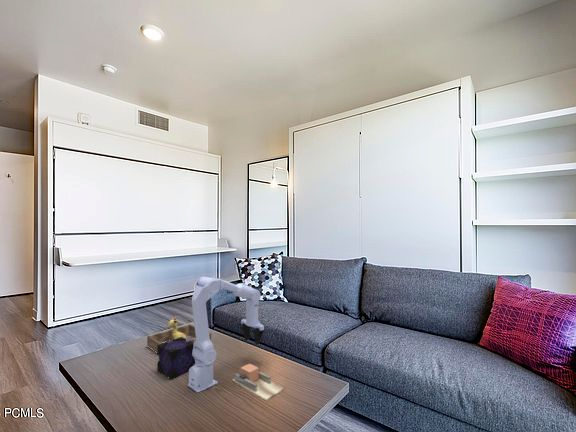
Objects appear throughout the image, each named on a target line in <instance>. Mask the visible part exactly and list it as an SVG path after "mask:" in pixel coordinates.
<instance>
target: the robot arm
mask: <svg viewBox="0 0 576 432" xmlns="http://www.w3.org/2000/svg"><path fill="white" fill-rule="evenodd" d="M222 290H227V291H229V292H233V295H234V296H236V297H239V298H242V299H244V300H246V302H245V308H246V309H245V310H246V311H245V315H246V317H245V318H243V319H241V320H240V324H241V325H240V329H241V331H242V333H243V337H244V340H245V341H248V340H250V338H251V337H250V336H251V329H252V328H254V329H252V332H253V335H254V342H255V343H254V344H255V345H260V344H261V339H262V336H263V334H264V332H265V325H264V324H262V323H261V322H260V320H259V304H260V299H261V297H262V294H261V292H260V290H259V289H256V288H253V287H252V286H251V285H249V286H247V285H245V283H244V282H240V283H237V284H235V283H231V282H229V281H227V280H224V279H220V278H216V277H215V278H214V277H211V276H210V277H208V276H207V275H206V276H200V277H199V278H198V279H197V280H196V282H195V283H194V290H193V293H192V298H191V305H192V306H191V307H192V314H193V323H194V325H193V326H195V334H196V341H195V342H194V343H193V345H194V348H193V351H192V355H193V357H194V359H195V365H194V366H192V367H191V368H190V369H189V372H188V384H187V387H189V388H190V389H192V390H193V391H195V392H196V393H200V392H203V391H204V390H206V389H209V388H211V387H212V386H215V385H217V384H218V381H217V380H215V379H214V364H215V361H216V359H217V356H218V355H217V351H216V349H215V348H214V343H213V342H212V339H211V340H210V336H209V333H210V329H209V322H208V321H209V320H208V310H207V302H208V301H209V300H210V299H211V298H212V297H214V296H215V295H216V294H218V292H219V291H222Z"/></svg>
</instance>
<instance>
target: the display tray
mask: <svg viewBox="0 0 576 432" xmlns="http://www.w3.org/2000/svg"><path fill="white" fill-rule="evenodd" d="M172 330H173V328H172V329H171V328H170V329H168V330H165V331H161V332H158V333H154V334H151V335H147V339H146V341H147V343H146V344H147V345H148V346H149V347H150V348H152V349H153V350H154V351H156V352H157V345H159V344H162V342H165V341H169V340H173V338H172ZM177 331H178V332H181V333H184V334H185V335H186V337H187V335H188V336H190V337H191V338H192V337H195V338H194V339H191V340H188V342H189V341H192V342H195V341H196V334H195V325H193V324H190V323H189V324H185V325H183V326H177ZM209 336H210V340H211V341H212V333H210V332H209ZM147 345H146V346H147ZM154 351H153V352H154Z"/></svg>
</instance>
